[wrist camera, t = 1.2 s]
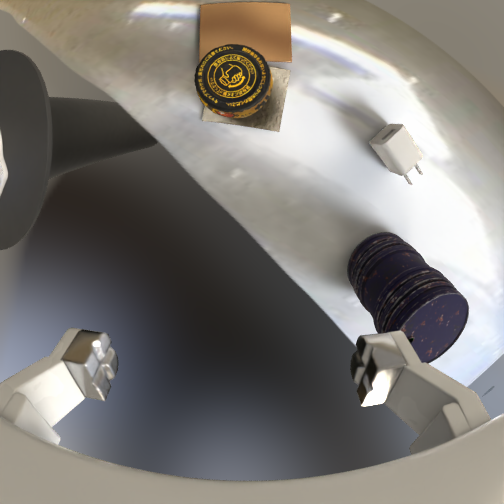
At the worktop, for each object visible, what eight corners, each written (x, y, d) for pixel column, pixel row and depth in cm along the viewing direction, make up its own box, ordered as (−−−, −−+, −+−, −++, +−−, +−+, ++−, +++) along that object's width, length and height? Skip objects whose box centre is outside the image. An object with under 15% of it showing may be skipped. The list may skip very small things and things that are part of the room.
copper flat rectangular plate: (291, 62, 25) (291, 61, 25) (199, 63, 25) (199, 63, 25) (289, 4, 22) (289, 3, 22) (200, 5, 22) (200, 4, 22)
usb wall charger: (388, 123, 28) (405, 124, 25) (417, 166, 30) (435, 172, 27) (367, 143, 29) (382, 146, 26) (398, 185, 32) (414, 193, 28)
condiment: (212, 59, 25) (192, 28, 14) (290, 70, 26) (314, 46, 15) (202, 120, 28) (175, 124, 18) (278, 131, 29) (297, 141, 18)
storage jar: (412, 227, 34) (479, 283, 20) (404, 288, 38) (454, 354, 25) (346, 236, 34) (400, 304, 21) (345, 300, 38) (382, 378, 25)
